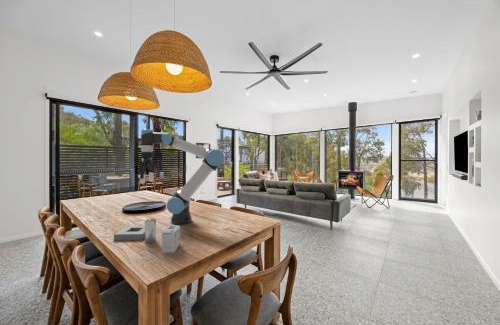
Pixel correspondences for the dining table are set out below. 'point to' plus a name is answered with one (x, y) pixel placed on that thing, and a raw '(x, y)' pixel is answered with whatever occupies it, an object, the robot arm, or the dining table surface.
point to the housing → (130, 233)
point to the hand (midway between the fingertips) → (147, 182)
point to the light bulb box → (170, 239)
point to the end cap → (150, 230)
